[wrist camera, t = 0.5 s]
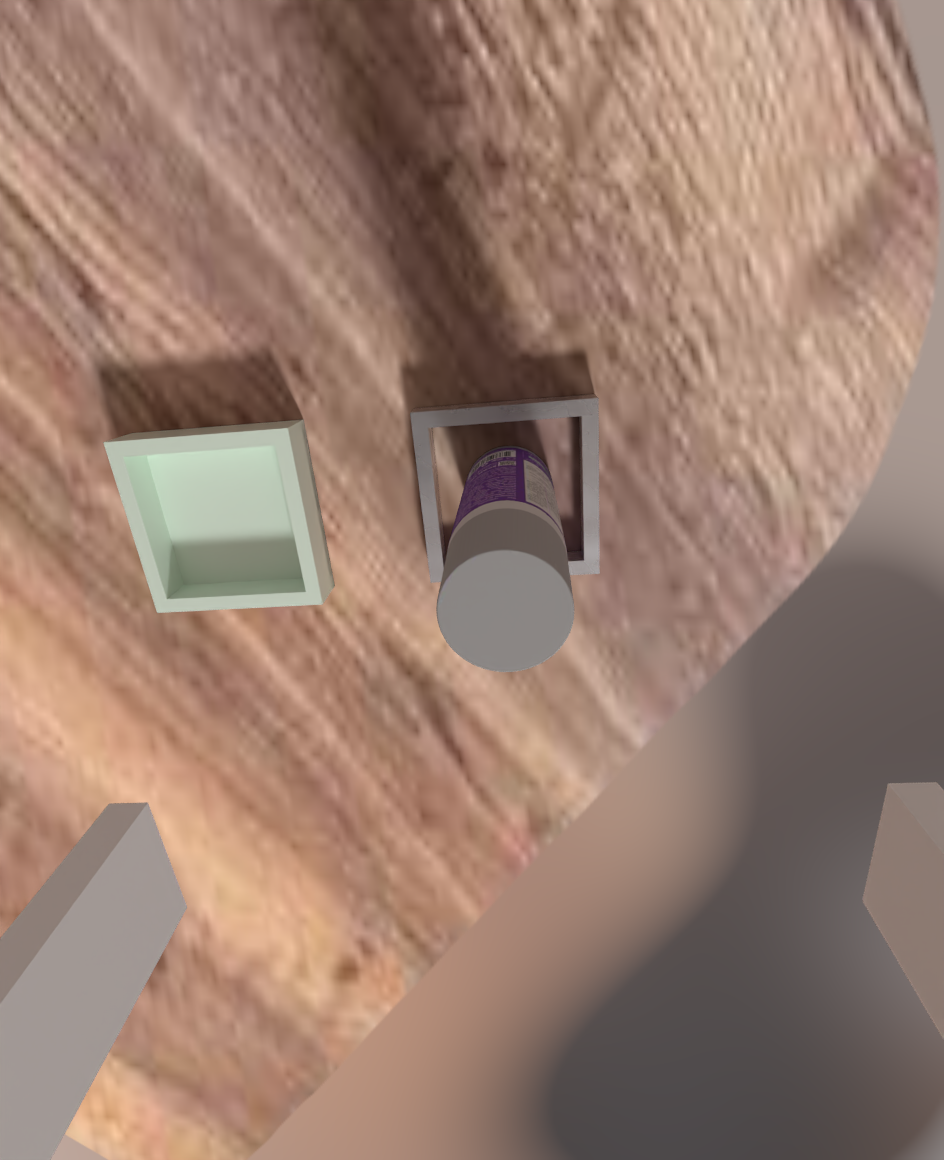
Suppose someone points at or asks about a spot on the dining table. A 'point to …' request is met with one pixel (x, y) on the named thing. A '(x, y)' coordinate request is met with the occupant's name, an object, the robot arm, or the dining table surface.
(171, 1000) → the dining table surface
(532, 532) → the container
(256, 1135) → the dining table surface
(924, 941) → the robot arm
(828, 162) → the dining table surface
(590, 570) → the collar
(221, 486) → the tray
